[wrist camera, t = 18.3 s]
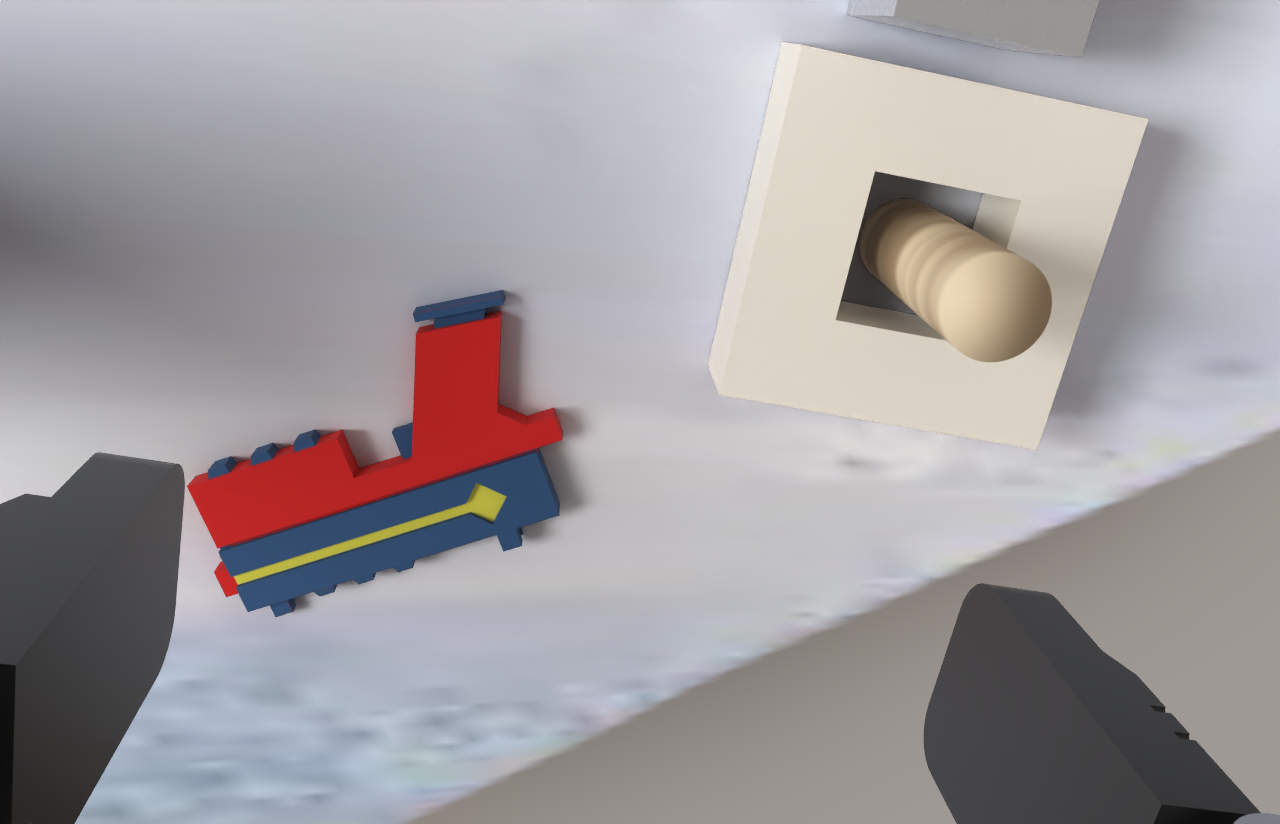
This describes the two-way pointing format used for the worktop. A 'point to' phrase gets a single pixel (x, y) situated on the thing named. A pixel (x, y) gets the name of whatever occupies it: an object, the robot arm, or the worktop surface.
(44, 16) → the worktop surface
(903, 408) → the socket block
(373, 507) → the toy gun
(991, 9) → the pin mount
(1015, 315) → the dowel
